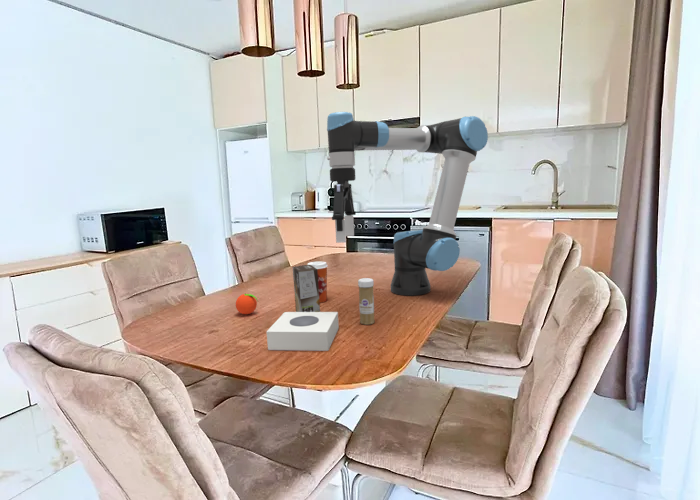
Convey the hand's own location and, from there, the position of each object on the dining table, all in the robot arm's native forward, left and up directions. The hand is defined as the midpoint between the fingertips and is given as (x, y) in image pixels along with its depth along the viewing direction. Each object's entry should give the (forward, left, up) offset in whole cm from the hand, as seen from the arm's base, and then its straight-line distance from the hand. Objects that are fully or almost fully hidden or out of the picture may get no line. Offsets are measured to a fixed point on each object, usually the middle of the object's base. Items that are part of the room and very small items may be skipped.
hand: (345, 239), depth 124 cm
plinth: (+10, +17, -25) cm, 32 cm away
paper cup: (+14, -19, -25) cm, 35 cm away
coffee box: (+14, -2, -25) cm, 29 cm away
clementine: (+35, -4, -25) cm, 43 cm away
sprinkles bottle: (-6, +4, -25) cm, 26 cm away
